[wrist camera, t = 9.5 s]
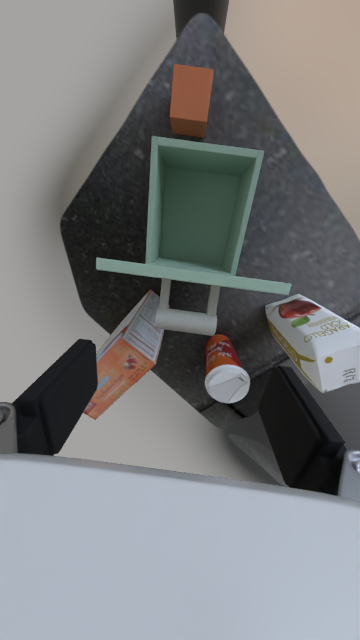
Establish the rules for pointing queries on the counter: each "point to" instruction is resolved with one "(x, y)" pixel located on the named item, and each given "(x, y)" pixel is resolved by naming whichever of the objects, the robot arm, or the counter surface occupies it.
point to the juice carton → (316, 341)
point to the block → (190, 100)
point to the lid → (188, 319)
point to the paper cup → (224, 371)
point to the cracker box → (126, 354)
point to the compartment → (199, 204)
